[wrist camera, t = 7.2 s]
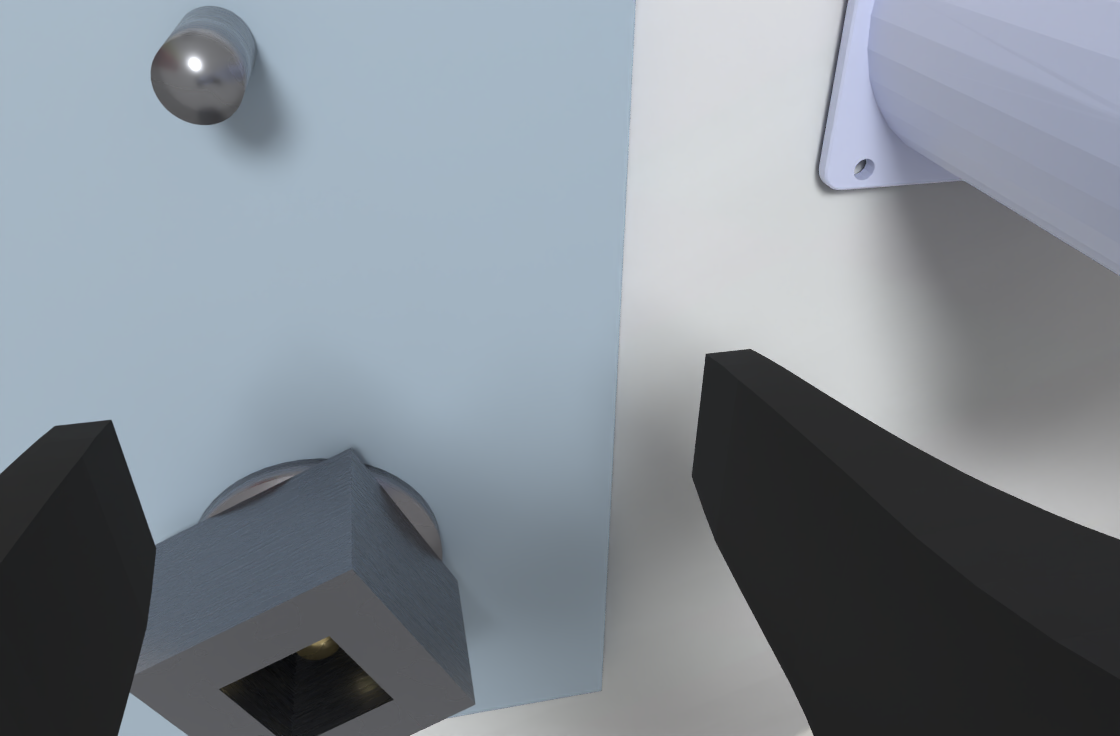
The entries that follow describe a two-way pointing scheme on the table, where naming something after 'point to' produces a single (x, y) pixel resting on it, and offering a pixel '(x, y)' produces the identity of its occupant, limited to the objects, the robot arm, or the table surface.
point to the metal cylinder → (204, 66)
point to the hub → (273, 475)
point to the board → (339, 280)
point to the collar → (305, 616)
